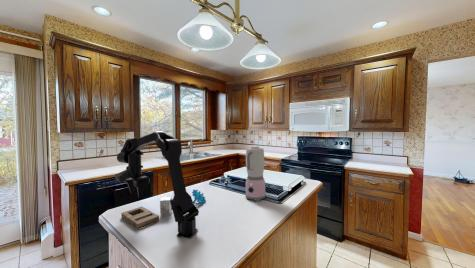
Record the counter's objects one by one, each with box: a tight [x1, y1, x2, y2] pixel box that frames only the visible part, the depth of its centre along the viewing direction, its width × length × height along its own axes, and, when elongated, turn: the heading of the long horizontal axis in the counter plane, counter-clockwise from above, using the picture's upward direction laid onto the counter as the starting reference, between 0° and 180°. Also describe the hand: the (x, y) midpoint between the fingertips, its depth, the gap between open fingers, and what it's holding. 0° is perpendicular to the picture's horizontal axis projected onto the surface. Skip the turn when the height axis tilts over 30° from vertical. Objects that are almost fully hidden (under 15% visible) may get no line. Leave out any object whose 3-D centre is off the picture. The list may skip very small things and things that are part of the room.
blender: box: [245, 145, 266, 202], centre depth 117 cm, size 16×12×32 cm
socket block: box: [121, 206, 160, 230], centre depth 93 cm, size 18×10×2 cm, turn 50°
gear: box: [191, 189, 207, 205], centre depth 113 cm, size 11×6×10 cm
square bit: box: [159, 196, 173, 217], centre depth 98 cm, size 4×4×8 cm
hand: (135, 195), depth 95 cm, fingers open, 9 cm apart
